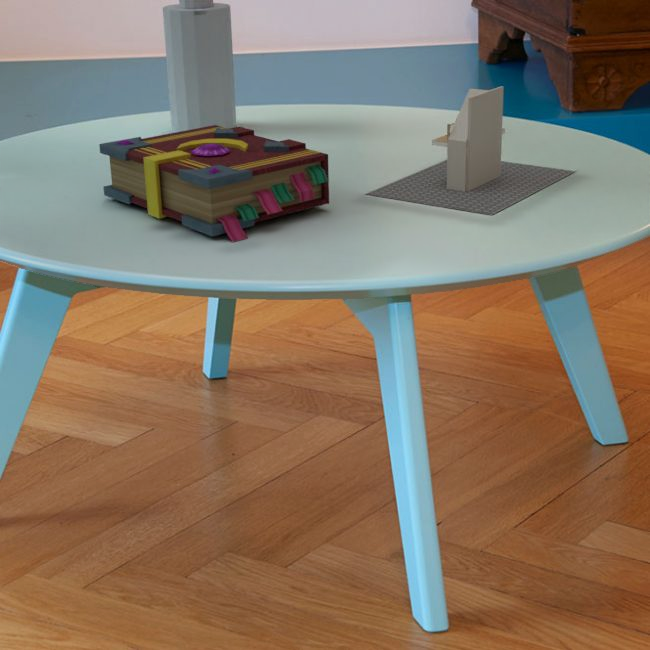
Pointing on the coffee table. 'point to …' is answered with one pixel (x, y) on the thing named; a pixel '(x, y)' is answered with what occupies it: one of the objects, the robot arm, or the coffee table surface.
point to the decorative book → (217, 177)
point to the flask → (199, 64)
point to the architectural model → (474, 164)
